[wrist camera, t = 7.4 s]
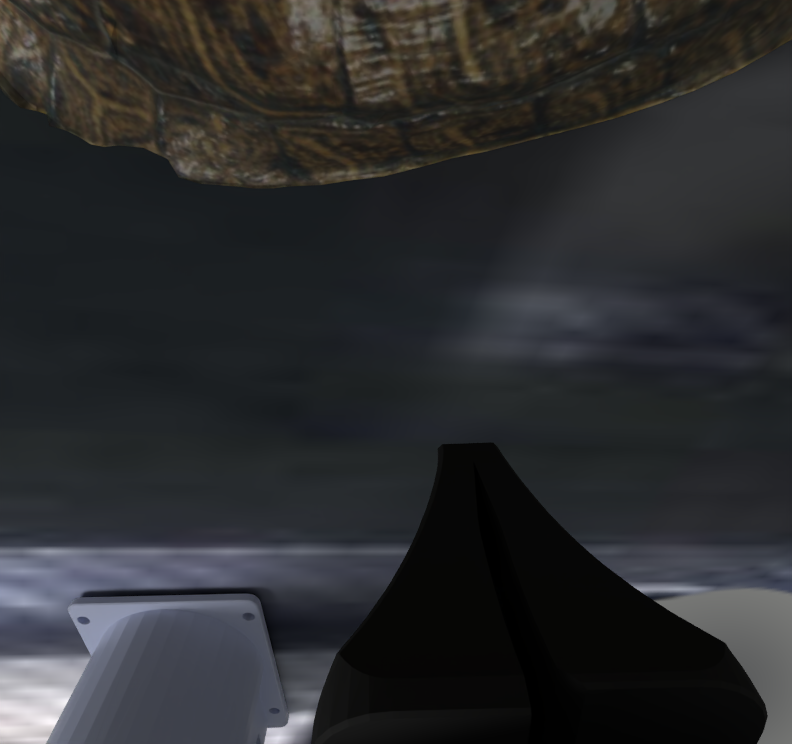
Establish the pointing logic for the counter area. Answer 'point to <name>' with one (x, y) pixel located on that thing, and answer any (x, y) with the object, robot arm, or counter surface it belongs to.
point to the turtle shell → (360, 75)
